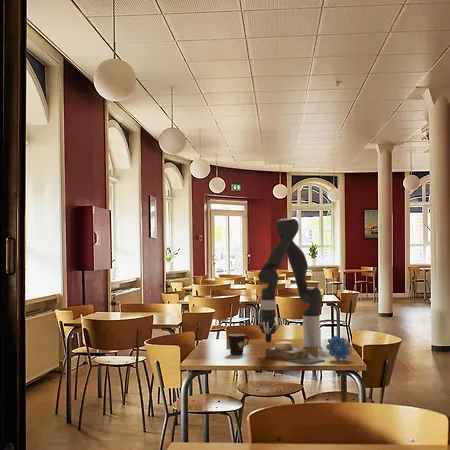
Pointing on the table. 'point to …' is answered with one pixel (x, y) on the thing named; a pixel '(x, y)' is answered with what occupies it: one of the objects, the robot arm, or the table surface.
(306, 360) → the slate board
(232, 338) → the coffee mug
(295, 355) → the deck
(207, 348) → the table surface
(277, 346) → the tan domed disc
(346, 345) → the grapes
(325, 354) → the table surface
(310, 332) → the robot arm
